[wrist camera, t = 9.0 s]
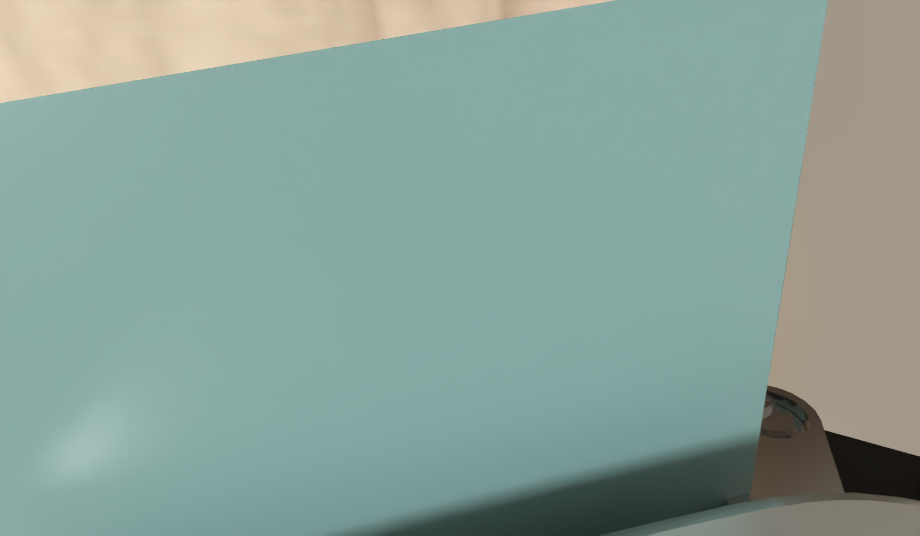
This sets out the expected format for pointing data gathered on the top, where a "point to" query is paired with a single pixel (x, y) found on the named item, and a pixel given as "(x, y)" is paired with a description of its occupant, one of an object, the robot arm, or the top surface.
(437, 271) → the teal rectangular block
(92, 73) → the top surface
